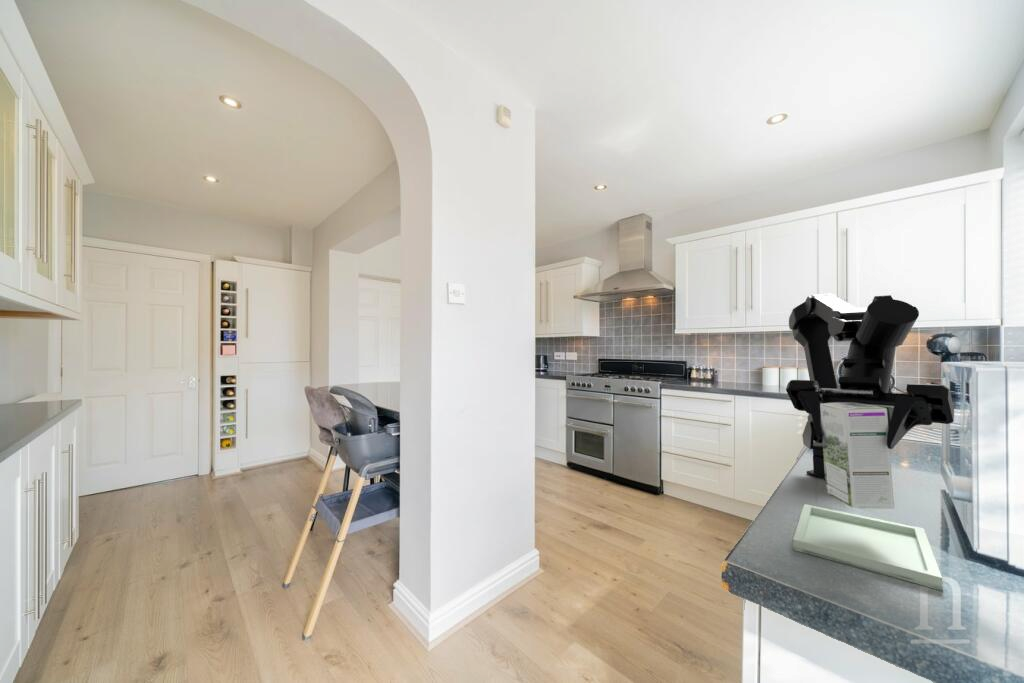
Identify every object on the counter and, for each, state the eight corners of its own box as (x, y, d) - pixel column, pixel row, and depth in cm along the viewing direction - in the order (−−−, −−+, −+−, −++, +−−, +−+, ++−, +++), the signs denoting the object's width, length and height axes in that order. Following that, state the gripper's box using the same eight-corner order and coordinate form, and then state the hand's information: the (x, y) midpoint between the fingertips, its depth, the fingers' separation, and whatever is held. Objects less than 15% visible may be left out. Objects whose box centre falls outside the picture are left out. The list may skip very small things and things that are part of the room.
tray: (804, 512, 65) (804, 503, 65) (924, 538, 55) (923, 528, 55) (793, 549, 53) (793, 539, 53) (943, 591, 43) (942, 577, 43)
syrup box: (896, 509, 53) (890, 407, 53) (850, 508, 54) (844, 407, 54) (864, 494, 58) (859, 401, 59) (823, 493, 59) (818, 402, 60)
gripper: (962, 402, 58) (956, 490, 51) (813, 393, 73) (794, 460, 66) (950, 352, 53) (943, 440, 47) (795, 354, 69) (773, 420, 62)
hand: (851, 442), depth 56 cm, fingers closed on syrup box, 8 cm apart
